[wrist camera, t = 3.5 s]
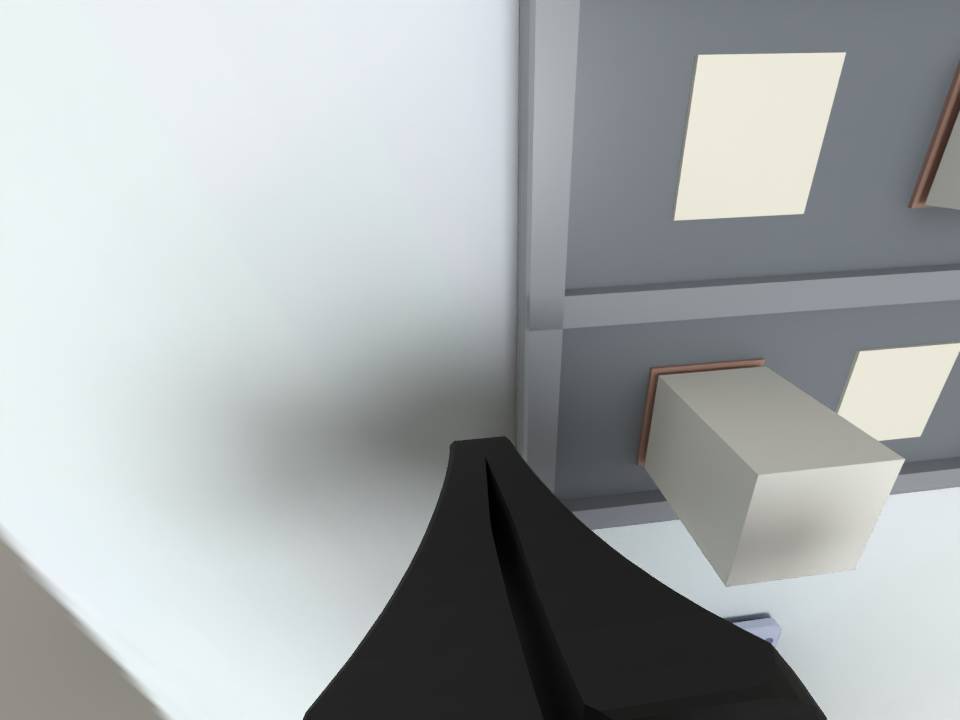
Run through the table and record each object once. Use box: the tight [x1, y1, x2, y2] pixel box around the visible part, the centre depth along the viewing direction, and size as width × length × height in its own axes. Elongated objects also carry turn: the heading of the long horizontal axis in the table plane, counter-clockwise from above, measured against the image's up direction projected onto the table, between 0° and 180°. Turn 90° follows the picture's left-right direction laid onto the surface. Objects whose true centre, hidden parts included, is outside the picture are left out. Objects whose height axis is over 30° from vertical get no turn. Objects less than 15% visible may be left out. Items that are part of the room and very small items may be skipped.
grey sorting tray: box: [516, 0, 960, 530], centre depth 12 cm, size 14×16×2 cm
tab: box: [644, 366, 905, 587], centre depth 11 cm, size 3×3×4 cm
